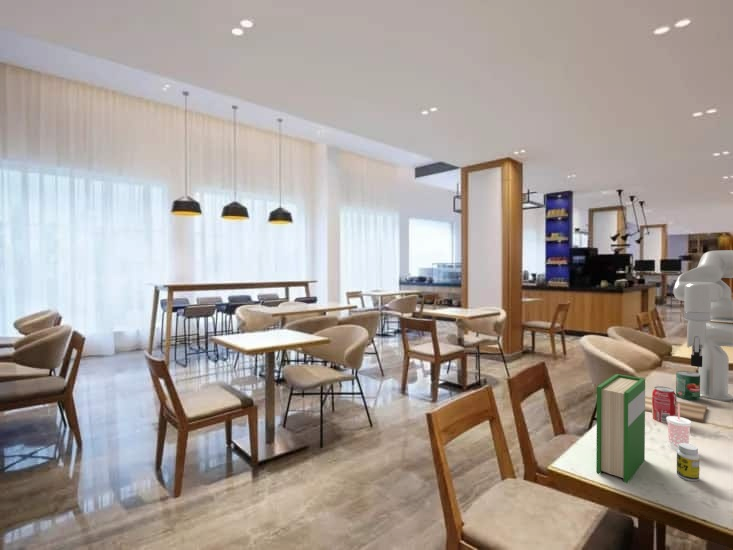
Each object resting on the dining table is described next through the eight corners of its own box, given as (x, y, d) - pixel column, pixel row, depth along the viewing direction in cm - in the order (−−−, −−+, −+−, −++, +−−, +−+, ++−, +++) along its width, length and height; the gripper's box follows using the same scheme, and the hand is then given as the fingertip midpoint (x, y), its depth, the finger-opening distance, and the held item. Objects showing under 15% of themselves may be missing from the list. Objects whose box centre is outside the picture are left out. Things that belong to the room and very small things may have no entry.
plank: (674, 404, 159) (673, 400, 159) (706, 409, 152) (706, 405, 152) (667, 417, 146) (667, 413, 146) (702, 423, 140) (702, 419, 140)
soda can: (667, 418, 146) (668, 386, 146) (681, 425, 139) (681, 392, 139) (647, 417, 147) (647, 385, 146) (659, 425, 140) (660, 391, 139)
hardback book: (627, 483, 104) (628, 392, 103) (596, 472, 109) (596, 386, 108) (644, 459, 116) (645, 378, 115) (615, 451, 121) (616, 373, 120)
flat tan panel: (644, 398, 166) (644, 395, 166) (672, 404, 160) (672, 400, 160) (635, 410, 154) (635, 406, 153) (665, 417, 147) (665, 413, 147)
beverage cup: (684, 454, 118) (685, 408, 118) (661, 446, 124) (662, 402, 123) (695, 450, 121) (695, 405, 121) (672, 442, 127) (672, 399, 126)
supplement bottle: (672, 472, 109) (672, 442, 108) (687, 471, 109) (688, 441, 109) (687, 482, 104) (688, 450, 104) (704, 481, 104) (704, 449, 104)
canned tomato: (697, 404, 160) (697, 377, 159) (673, 398, 166) (673, 373, 166) (702, 399, 165) (702, 373, 164) (678, 394, 171) (679, 369, 171)
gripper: (684, 313, 153) (684, 360, 154) (683, 318, 142) (682, 368, 143) (710, 315, 149) (709, 363, 149) (711, 319, 137) (710, 372, 138)
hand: (696, 365), depth 146 cm, fingers closed
